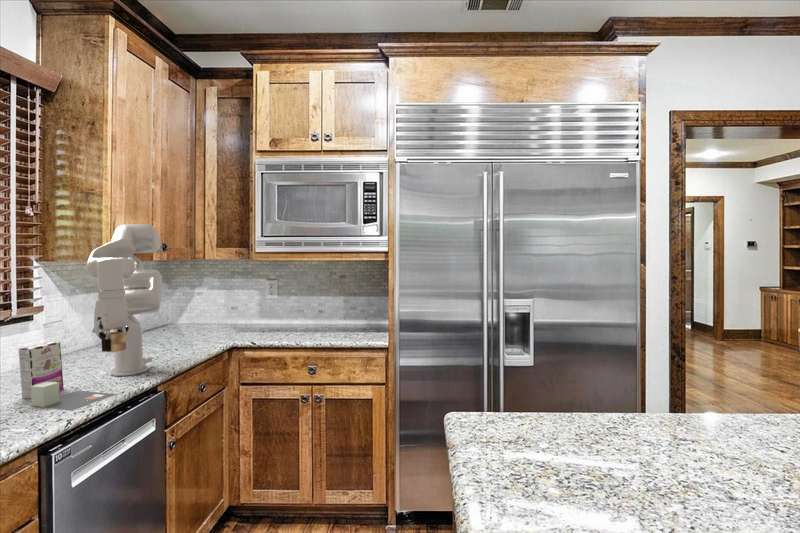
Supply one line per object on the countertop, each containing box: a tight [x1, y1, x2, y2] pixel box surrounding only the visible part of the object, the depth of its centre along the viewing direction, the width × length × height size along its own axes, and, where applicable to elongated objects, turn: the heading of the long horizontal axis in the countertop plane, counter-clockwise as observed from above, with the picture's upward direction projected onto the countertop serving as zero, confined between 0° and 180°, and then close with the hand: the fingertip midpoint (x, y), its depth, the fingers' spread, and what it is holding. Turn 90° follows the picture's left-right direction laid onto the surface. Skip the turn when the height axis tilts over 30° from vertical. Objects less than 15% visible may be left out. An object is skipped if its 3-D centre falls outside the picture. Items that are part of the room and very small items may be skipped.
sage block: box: [30, 382, 61, 408], centre depth 150 cm, size 5×5×6 cm
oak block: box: [100, 330, 126, 353], centre depth 164 cm, size 5×5×6 cm
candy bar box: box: [18, 341, 64, 399], centre depth 161 cm, size 11×5×16 cm, turn 168°
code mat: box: [30, 390, 118, 411], centre depth 154 cm, size 16×17×1 cm
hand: (113, 348), depth 164 cm, fingers closed on oak block, 5 cm apart
